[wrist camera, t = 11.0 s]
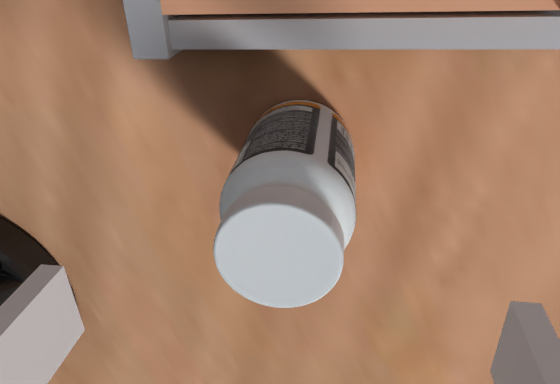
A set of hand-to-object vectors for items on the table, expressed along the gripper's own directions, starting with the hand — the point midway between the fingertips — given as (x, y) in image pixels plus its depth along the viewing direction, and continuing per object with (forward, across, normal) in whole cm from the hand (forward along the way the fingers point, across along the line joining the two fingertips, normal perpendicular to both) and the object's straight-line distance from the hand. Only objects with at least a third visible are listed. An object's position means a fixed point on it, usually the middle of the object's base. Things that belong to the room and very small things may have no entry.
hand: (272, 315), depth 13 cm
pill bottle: (+13, 0, 0) cm, 13 cm away
